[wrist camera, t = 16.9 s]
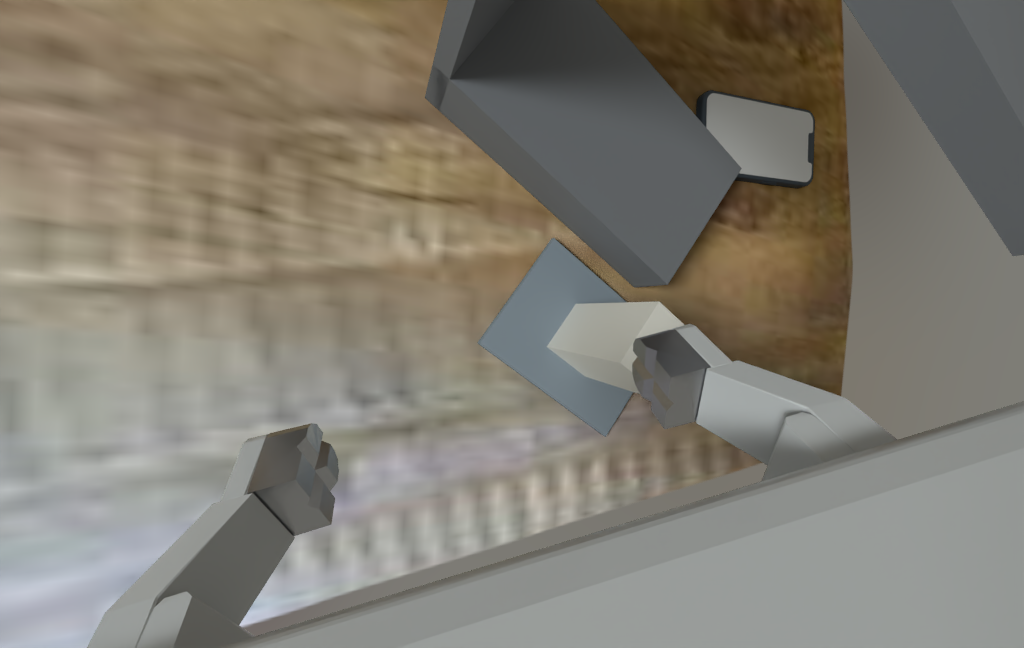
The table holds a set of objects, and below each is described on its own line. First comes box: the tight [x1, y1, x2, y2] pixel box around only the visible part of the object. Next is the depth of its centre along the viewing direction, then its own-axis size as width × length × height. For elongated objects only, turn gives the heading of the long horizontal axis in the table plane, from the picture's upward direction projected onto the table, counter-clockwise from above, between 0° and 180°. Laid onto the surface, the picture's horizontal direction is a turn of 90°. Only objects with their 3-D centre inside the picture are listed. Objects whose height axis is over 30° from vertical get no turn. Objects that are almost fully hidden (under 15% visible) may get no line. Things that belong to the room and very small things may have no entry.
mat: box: [478, 238, 633, 437], centre depth 39 cm, size 16×12×1 cm
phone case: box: [696, 90, 815, 188], centre depth 46 cm, size 9×2×16 cm
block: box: [547, 302, 684, 394], centre depth 33 cm, size 5×5×12 cm
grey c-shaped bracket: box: [425, 0, 1024, 287], centre depth 26 cm, size 26×14×28 cm, turn 54°
